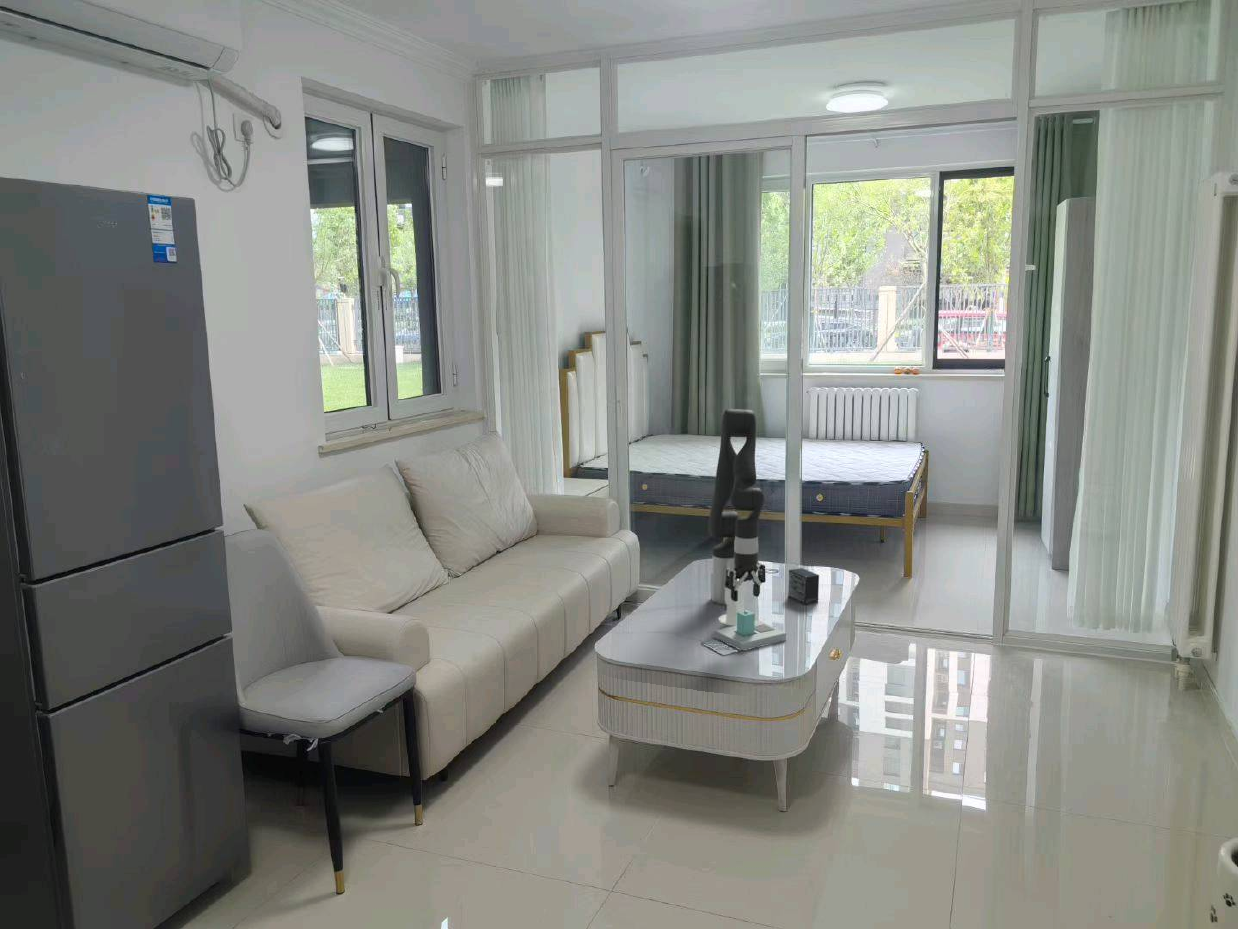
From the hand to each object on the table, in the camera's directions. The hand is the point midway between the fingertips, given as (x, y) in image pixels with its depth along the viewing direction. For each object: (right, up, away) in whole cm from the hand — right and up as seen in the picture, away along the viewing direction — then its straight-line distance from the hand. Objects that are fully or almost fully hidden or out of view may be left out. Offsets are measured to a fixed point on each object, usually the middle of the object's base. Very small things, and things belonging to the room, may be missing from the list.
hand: (745, 598), depth 298 cm
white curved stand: (-1, -11, +21) cm, 24 cm away
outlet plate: (+2, -14, +3) cm, 14 cm away
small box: (+27, -7, +42) cm, 50 cm away
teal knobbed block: (0, -14, +2) cm, 14 cm away
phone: (-9, -16, -4) cm, 18 cm away
